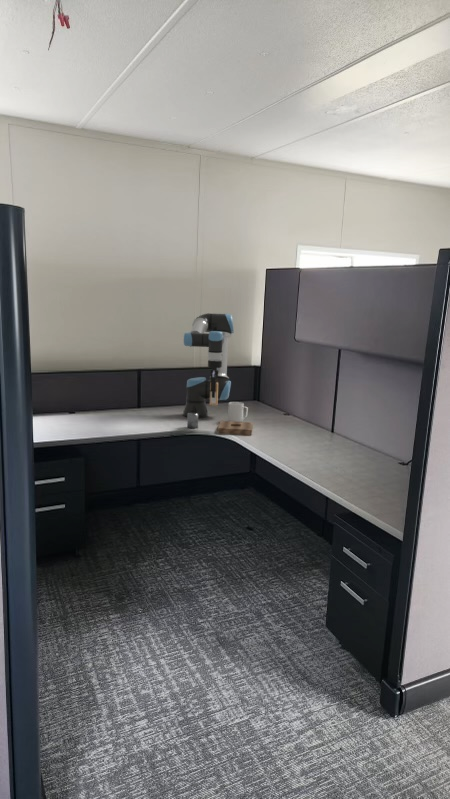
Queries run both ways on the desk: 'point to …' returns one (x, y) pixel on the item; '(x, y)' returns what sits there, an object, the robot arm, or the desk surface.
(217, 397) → the square peg
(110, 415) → the desk surface
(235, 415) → the mug
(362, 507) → the desk surface
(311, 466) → the desk surface
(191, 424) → the grey rounded block
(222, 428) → the socket block
